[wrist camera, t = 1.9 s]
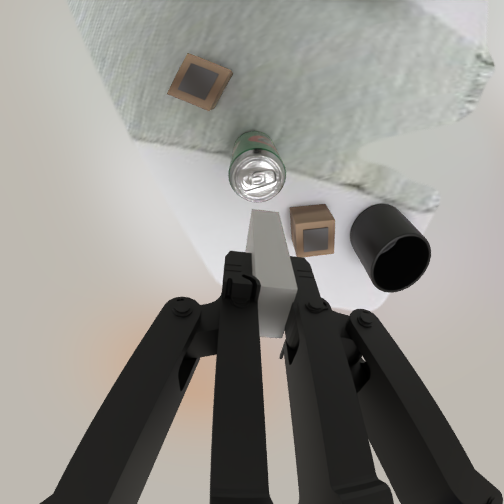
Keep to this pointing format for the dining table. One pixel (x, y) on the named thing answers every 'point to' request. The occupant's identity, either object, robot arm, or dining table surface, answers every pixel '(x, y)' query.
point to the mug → (390, 248)
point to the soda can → (256, 168)
